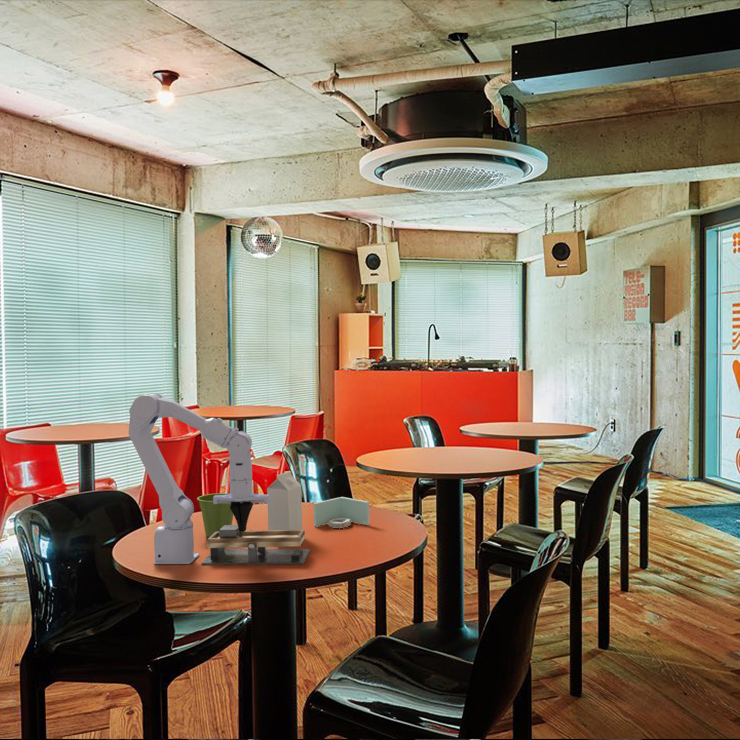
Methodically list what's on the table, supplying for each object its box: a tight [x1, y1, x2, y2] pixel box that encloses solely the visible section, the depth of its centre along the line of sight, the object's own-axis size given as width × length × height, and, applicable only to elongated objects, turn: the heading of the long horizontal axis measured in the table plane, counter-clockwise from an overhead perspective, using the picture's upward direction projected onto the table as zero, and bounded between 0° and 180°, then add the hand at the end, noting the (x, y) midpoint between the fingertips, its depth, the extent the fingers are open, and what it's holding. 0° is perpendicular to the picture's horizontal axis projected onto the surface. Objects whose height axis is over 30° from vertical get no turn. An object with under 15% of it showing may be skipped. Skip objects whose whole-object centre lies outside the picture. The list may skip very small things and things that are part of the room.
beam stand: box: [200, 543, 311, 566], centre depth 178 cm, size 26×13×5 cm, turn 86°
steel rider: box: [219, 524, 242, 538], centre depth 179 cm, size 4×5×3 cm
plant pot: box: [196, 492, 234, 538], centre depth 202 cm, size 12×12×11 cm
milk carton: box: [266, 470, 303, 530], centre depth 196 cm, size 7×7×19 cm
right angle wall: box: [313, 496, 371, 529], centre depth 209 cm, size 12×12×8 cm
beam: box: [206, 529, 306, 549], centre depth 178 cm, size 24×8×2 cm, turn 86°
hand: (242, 530), depth 178 cm, fingers closed
